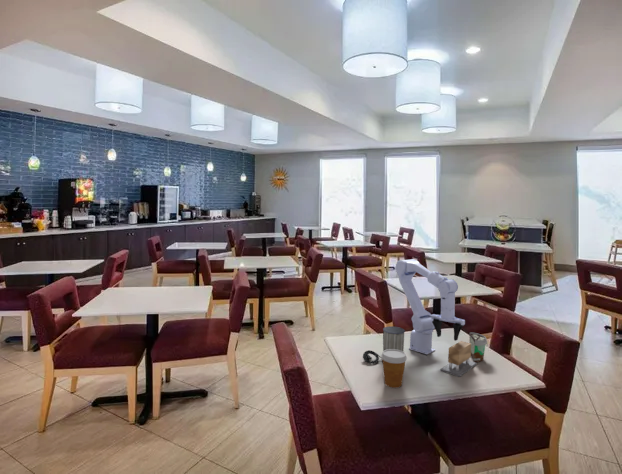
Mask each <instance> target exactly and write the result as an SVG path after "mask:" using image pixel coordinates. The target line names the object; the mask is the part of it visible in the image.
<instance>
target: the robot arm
mask: <svg viewBox="0 0 622 474" xmlns="http://www.w3.org/2000/svg"><path fill="white" fill-rule="evenodd" d="M394 269H395V271H396V272H395V273H396V274H397V276H398V280H399V281H398V282H399V284H400V286H401V288H402V290H403V292H404V295H405V297H406V300H407V302H408V304H409V306H410V310H412V313H413V315H412V316H411V321H412V328H413V330H411V333H410V337H409V338H410V339H409V348H408V349H409V350H411V351H414V352H416V353H417V352H418V353H420V354H421V353H422V354H424V355H428V354H431V353H433V352H434V351H436V349H435V348H432V346H433V332H434V330H435V332H436V336H437V337H438V338H439V337H442V324H443V322H446V323H447V322H448V323H452V324H453V325H452V327H453V340H454V341H455V342H456V341H458V339H459V336H460V332H461V330H462V329H463V327H464V326H465V325H466V320H465V319H462V318H458V317H456V316H455V315H456V314H455V312H456V311H455V309H456V308H455V307H456V300H455V299H456V293H457V291H458V288H459V285H458V282H457V281H456V280H454V279H452V278H451V279H449V278H448V277H447V276H443V275H442V274H440V272H439V271H431V270H430V269H428V268H426V267H425V266H424V265H422V264H421V263H420V262H419V261H418V260H416V259H414V258H411V259H399V260H397V262H396V264H395V268H394ZM416 273H417V274H419V275H421V276H422V277H424V278H426V280H427V282H428V283H429V284H431V285H433V286H434V287H436V288H437V289H438V291H439V296H440V314H435V313H433V314H431V312H429V311H427V310H426V309H425V308H424V305H423V302H422V300H421V299H420V296H419V294H418V291H417V290H416V288H415V285H414V283H413V281H412V279H413V277H415V274H416Z"/></svg>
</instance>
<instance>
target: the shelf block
mask: <svg viewBox="0 0 622 474" xmlns="http://www.w3.org/2000/svg"><path fill="white" fill-rule="evenodd" d="M447 355H448V358H447V363H448V364H449V363H453V364H456V365H460V364H461V363H463V362H464V361H466V360H467V359H469V360H470V358H471V343H469V342H466V341H463V340H460V341H458V342H457V343H455V344H454V345H452V346H450V347H448V354H447Z"/></svg>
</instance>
